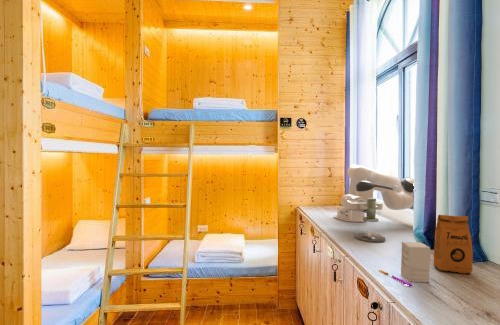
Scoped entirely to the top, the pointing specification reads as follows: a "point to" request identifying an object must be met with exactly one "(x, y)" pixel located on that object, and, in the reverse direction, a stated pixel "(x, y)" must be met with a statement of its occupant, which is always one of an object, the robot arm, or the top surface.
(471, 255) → the coffee package
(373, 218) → the green cylinder with base
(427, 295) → the top surface
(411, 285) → the purple screwdriver
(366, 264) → the top surface
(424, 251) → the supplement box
